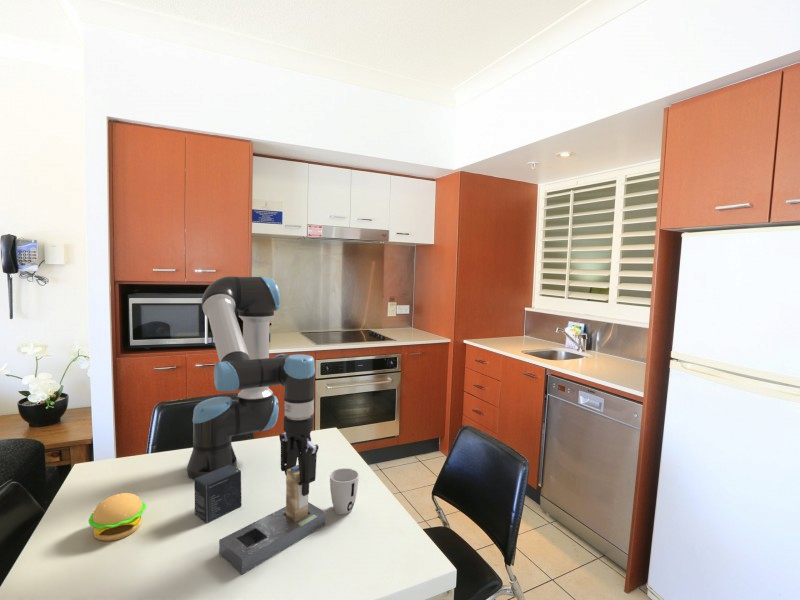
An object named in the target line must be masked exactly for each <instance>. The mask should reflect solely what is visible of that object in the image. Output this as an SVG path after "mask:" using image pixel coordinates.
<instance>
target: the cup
mask: <svg viewBox="0 0 800 600" xmlns="http://www.w3.org/2000/svg"><path fill="white" fill-rule="evenodd" d="M359 475H360V474H359V472H358V471H357V470H356V469H353V468H347V467H345V468H344V467H343V468H337V469H335V470H333V471H331V472H330V474H329V488H330V496H331V501H332V502H331V503H332V505H333V509H334V512H335V513H336V514H339V515H347V514H349V513H351V512H352V511H353V508H354V505H355V503H356V499H357V493H358V486H359Z"/></svg>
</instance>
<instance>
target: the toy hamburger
mask: <svg viewBox="0 0 800 600" xmlns="http://www.w3.org/2000/svg"><path fill="white" fill-rule="evenodd" d="M146 509H147V505H146V503H145V502H143V501H142V500H141V498H140V497H139V496H138V495H137V494H135V493H130V492H122V493H116V494H114V495H111V496H109V497H108V496H107V497H106V498H105V499H103V501H101V502H100V503H98V504H97V506H96V508H95V509H94V510H93V513H90V515H89V518H88V524H89V526H91V527H93V536H94V537H95V539H97V540H99V541H103V542H112V541H116V540H117V541H118V540H120V539H123V538H126V537H128V536H129V535H131V534H133V533H135V531H137V530H138V529H139V528H140V526H141V525H142V523H143V522H142V521H143V517H142V515H143V514H144V512H145V510H146Z"/></svg>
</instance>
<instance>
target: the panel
mask: <svg viewBox="0 0 800 600" xmlns="http://www.w3.org/2000/svg"><path fill="white" fill-rule="evenodd" d="M326 515H327V514H326V511H324V510H323V509H321V508H320V507H318V506H316V505H314V504H313V503H311V502H309V501H308V515H307V516H306V517H304V518H302V519H300V520H298V521H296V522H294V521H292V520H291V519H289V518H288V517H286V506H283V507H282V508H280V509H278V510H275V511H274V512H272V513H270V514H268V515H266V516H264V517H262V518H260V519H258V520H256V521H254V522H251V523H250V524H248V525H245V526H244V527H241V528H240V529H238V530H236V531H234V532H232V533H230V534H228V535H226V536H223V537H222V538H219V542H218V554H219V556H220V557H222V558H223V559H224V560H225V561H226V562H227V563H229V565H231V566H232V567H233V568H234V569H235V570H236V571H237V572H238V573H240V574H241V575H244V574H245V573H247V572H249V571H250V570H253V569H254V568H255V567H257V566H259V565H261V564H262V563H264V562H265V561H267V560H269V559H270V558H272V557H274V556H275V555H277V554H279V553H281V552H282V551H285V549H287V548H289V547H290V546H292V545H295V544H296V543H298V542H299V541H301V540H302V539H304V538H305V537H308V536H309V535H311V534H313V533H314V532H315V531H318V530H319V529H321V528H323V527H325V526H326V518H327V517H326ZM254 543H255V544H254ZM252 544H253V545H252ZM250 545H251V546H250Z"/></svg>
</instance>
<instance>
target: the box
mask: <svg viewBox="0 0 800 600" xmlns="http://www.w3.org/2000/svg"><path fill="white" fill-rule="evenodd" d="M193 480H194V481H193V482H194V483H193V486H194V516H196V517H197V518H198V519H199V520H201V521H203V522H204V523H206V524H209V523H211V522H212V521H214V520H216V519H218V518H221V517H223V516H225V515H226V514H228V513H230V512H232V511H234V510H236V509H238V508H240V507H242V470H241V469H238V468H237V467H236V468H235V467H233V466H230V465H227V466H225V467H222V468H220V469H217V470H215V471H212V472H210V473H207V474H205V475H202V476H200V477H197V478H195V479H193Z"/></svg>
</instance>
